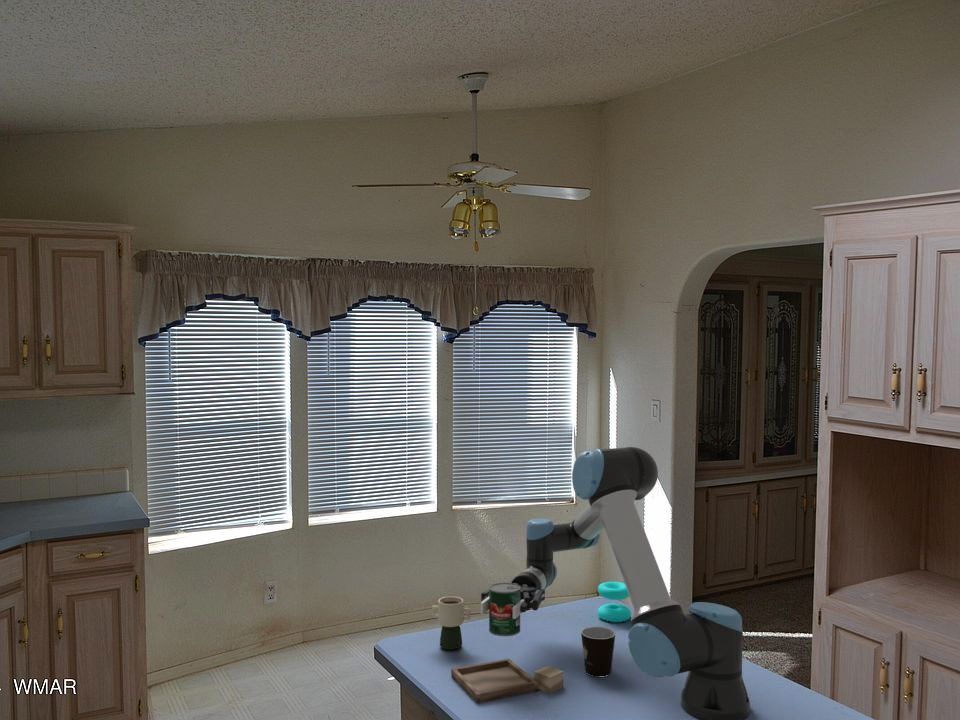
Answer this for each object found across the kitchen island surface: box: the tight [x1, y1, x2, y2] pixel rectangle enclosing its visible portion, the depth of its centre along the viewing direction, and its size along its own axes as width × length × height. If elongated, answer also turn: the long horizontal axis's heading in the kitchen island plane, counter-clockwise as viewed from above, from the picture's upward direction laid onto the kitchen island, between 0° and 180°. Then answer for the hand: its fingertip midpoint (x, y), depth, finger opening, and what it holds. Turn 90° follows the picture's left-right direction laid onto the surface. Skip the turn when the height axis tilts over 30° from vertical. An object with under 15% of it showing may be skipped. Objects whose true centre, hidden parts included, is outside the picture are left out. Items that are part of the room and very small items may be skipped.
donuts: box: [597, 581, 632, 623], centre depth 242 cm, size 10×10×10 cm
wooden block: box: [533, 665, 564, 694], centre depth 194 cm, size 5×5×4 cm
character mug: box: [431, 595, 471, 650], centre depth 219 cm, size 11×7×13 cm, turn 77°
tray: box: [450, 658, 539, 704], centre depth 196 cm, size 16×16×2 cm
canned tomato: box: [488, 582, 521, 637], centre depth 200 cm, size 8×8×11 cm
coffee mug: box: [580, 626, 616, 677], centre depth 204 cm, size 12×9×10 cm
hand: (497, 610), depth 196 cm, fingers closed on canned tomato, 8 cm apart
